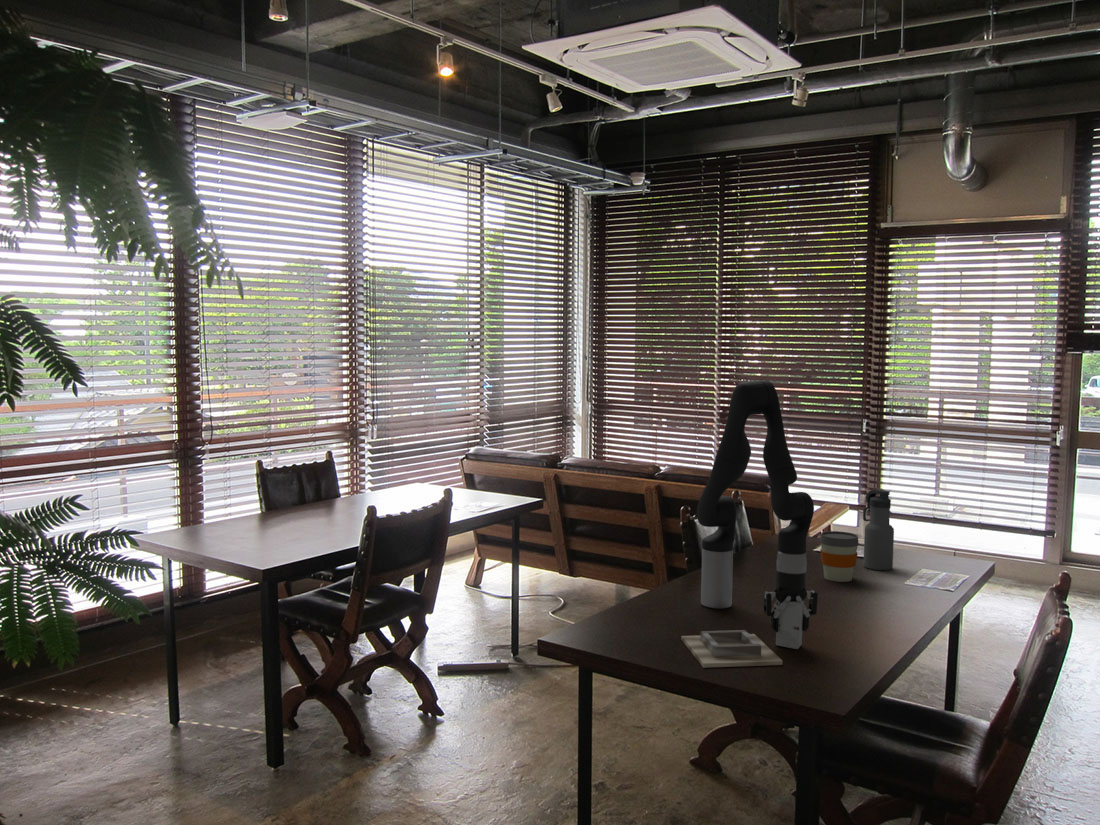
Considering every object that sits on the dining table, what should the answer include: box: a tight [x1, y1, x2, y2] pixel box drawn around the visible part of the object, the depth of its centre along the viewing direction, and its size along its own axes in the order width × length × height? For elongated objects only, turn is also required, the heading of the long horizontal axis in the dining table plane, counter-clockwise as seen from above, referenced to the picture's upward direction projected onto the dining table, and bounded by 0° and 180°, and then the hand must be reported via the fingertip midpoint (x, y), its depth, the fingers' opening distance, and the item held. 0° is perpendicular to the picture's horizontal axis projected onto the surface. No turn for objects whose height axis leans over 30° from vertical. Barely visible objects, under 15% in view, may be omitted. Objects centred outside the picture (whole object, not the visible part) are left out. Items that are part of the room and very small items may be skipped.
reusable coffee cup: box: [819, 530, 860, 583], centre depth 286 cm, size 13×13×15 cm
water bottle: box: [862, 489, 895, 571], centre depth 300 cm, size 10×10×28 cm
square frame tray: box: [681, 629, 784, 669], centre depth 214 cm, size 20×20×4 cm
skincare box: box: [775, 599, 805, 650], centre depth 219 cm, size 6×4×12 cm
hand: (789, 630), depth 219 cm, fingers closed on skincare box, 7 cm apart
